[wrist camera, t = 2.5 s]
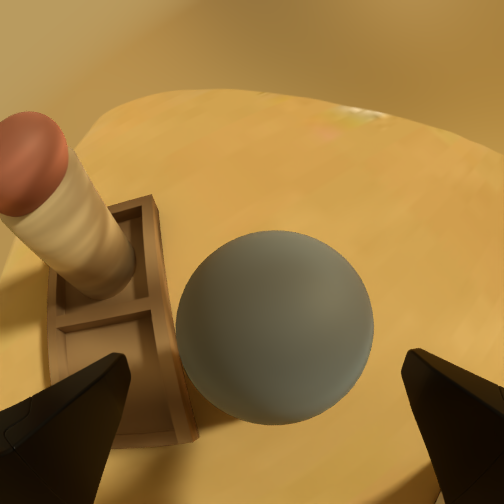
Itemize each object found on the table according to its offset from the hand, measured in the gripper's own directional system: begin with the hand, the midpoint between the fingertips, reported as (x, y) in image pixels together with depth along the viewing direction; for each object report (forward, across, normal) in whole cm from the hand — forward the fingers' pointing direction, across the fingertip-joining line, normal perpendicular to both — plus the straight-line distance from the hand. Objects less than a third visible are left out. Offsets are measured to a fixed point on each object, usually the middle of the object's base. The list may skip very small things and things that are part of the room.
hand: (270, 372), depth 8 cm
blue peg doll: (+7, 0, +6) cm, 9 cm away
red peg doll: (+11, +11, 0) cm, 15 cm away
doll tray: (+8, +10, +4) cm, 13 cm away
